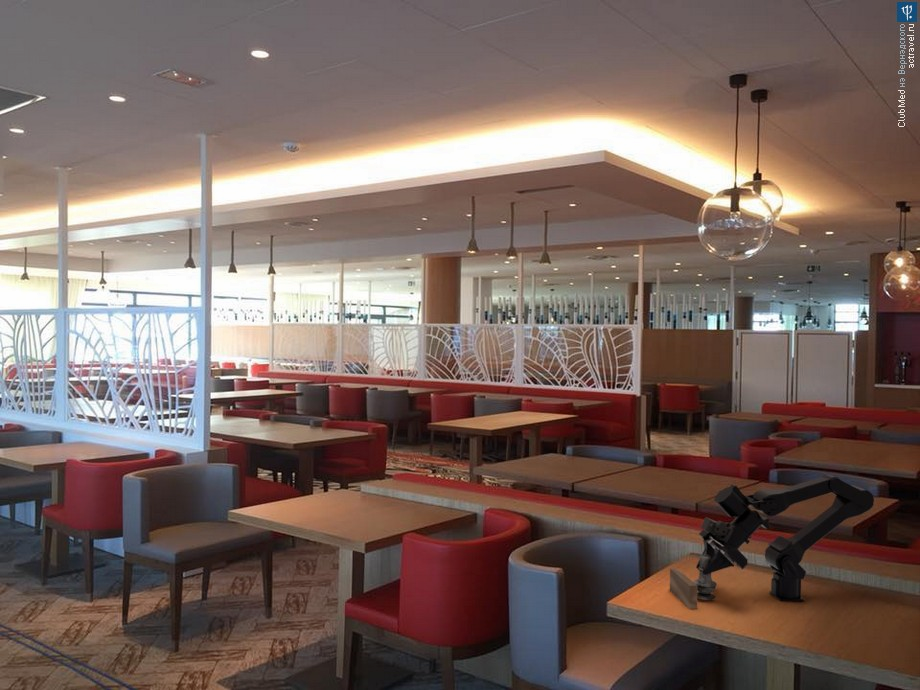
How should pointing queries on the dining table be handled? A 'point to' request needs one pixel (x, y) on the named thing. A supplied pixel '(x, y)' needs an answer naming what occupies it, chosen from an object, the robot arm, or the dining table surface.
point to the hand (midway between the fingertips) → (700, 571)
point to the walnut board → (683, 588)
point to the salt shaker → (705, 580)
